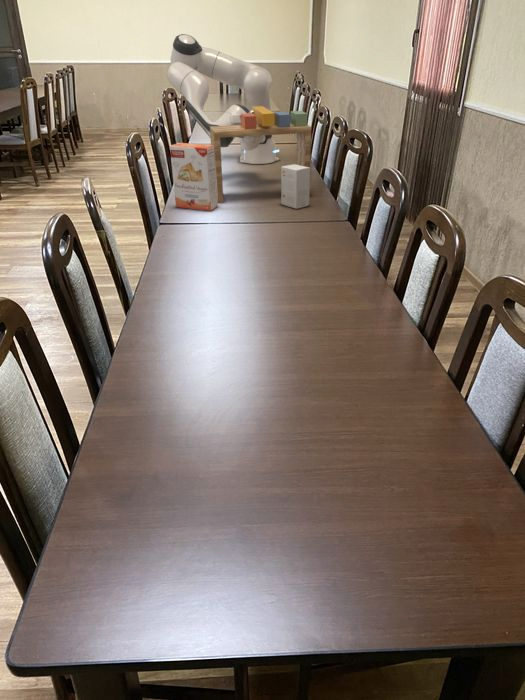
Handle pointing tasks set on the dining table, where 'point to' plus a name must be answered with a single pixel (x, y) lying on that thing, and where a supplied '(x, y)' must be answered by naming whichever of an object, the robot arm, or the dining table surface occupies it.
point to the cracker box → (194, 176)
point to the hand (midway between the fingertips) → (259, 112)
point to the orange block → (264, 116)
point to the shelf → (239, 131)
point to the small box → (295, 186)
